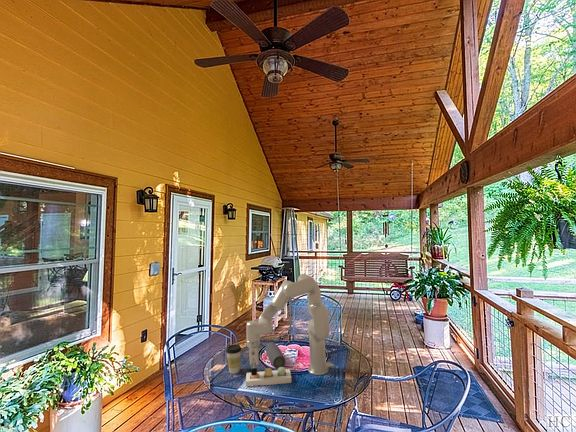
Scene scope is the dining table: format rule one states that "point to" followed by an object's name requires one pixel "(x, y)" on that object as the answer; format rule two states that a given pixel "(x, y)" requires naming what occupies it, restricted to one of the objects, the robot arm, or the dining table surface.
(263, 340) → the dining table surface
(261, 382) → the console
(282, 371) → the button sage
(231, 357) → the coffee cup
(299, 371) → the dining table surface
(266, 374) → the button ochre
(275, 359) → the bluetooth speaker
